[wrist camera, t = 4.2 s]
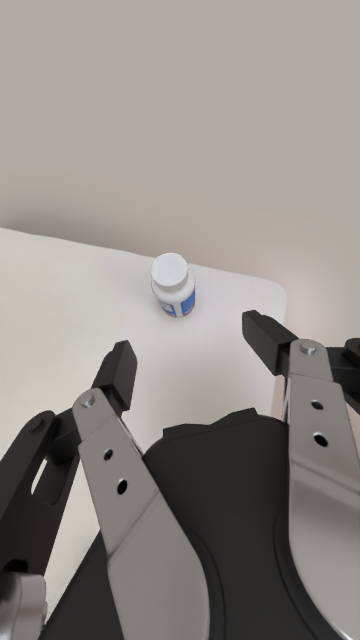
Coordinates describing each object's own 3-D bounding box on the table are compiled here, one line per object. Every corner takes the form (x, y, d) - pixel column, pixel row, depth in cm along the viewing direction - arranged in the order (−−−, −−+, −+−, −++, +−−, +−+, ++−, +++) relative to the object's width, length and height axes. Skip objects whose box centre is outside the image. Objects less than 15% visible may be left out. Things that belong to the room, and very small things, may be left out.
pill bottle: (191, 284, 27) (191, 242, 17) (197, 314, 25) (201, 286, 16) (159, 290, 27) (141, 251, 17) (163, 321, 25) (147, 296, 16)
